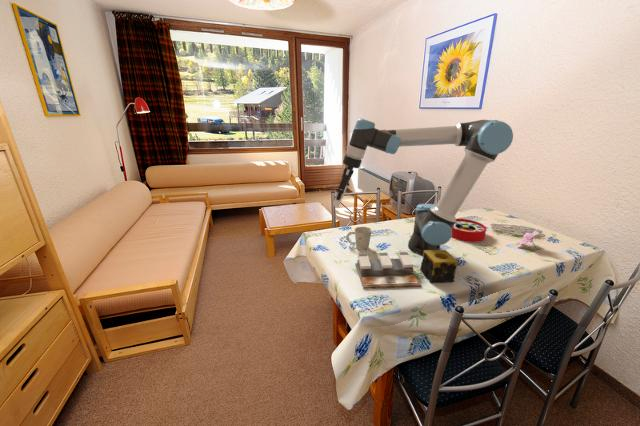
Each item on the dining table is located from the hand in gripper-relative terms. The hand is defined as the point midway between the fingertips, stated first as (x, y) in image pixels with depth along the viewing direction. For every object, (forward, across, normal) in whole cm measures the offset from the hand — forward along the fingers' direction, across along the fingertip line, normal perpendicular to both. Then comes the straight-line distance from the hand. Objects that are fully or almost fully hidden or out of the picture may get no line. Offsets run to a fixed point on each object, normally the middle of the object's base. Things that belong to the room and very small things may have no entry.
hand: (337, 201), depth 124 cm
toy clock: (+6, -38, +72) cm, 82 cm away
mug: (+23, -10, +17) cm, 30 cm away
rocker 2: (+13, +8, +36) cm, 39 cm away
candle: (+13, +9, +50) cm, 53 cm away
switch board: (+19, +13, +30) cm, 38 cm away
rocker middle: (+16, +10, +28) cm, 34 cm away
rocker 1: (+18, +12, +20) cm, 30 cm away
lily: (-2, -28, +97) cm, 101 cm away
